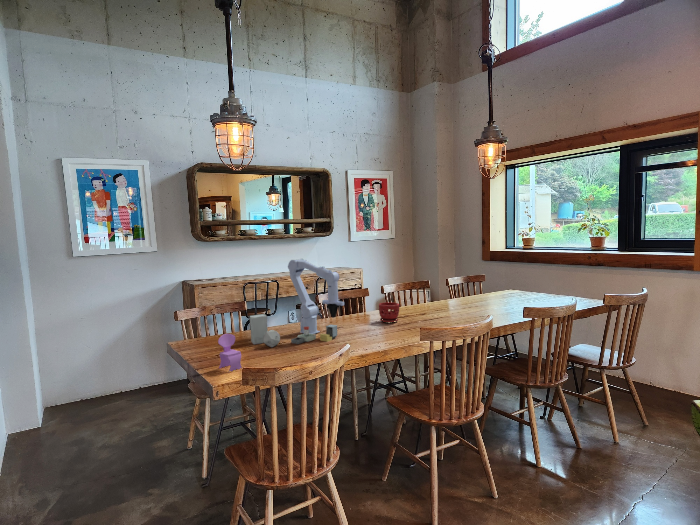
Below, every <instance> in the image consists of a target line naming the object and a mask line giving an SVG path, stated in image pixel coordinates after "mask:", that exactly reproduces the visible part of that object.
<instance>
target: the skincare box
mask: <svg viewBox="0 0 700 525" xmlns="http://www.w3.org/2000/svg"><path fill="white" fill-rule="evenodd" d="M249 325H250V326H249V327H250V328H249V329H250V341H251V343H252V344H253V345H259V344H265V343H264V342H263V336H264V335H265V333H266V332H267V331H269V330H268V316H267V315H266V314H265V313H261V314H255V315H254V314H253V315H249Z"/></svg>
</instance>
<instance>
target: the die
mask: <svg viewBox="0 0 700 525" xmlns="http://www.w3.org/2000/svg"><path fill="white" fill-rule="evenodd" d="M263 342H264V343H263V344H265V345H266V346H267V347H270V348H275V347H277V345H278V344H279V343H280V342H281V334H280V333H279V332H278V331H277V330H274V329H270V330H268V331H267V332H266V333H265V335H264V336H263Z"/></svg>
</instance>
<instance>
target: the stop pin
mask: <svg viewBox="0 0 700 525" xmlns="http://www.w3.org/2000/svg"><path fill="white" fill-rule="evenodd" d="M303 334H304V337H309V327H308V326H306V327H304V333H303Z"/></svg>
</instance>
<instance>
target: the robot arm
mask: <svg viewBox="0 0 700 525" xmlns="http://www.w3.org/2000/svg"><path fill="white" fill-rule="evenodd" d="M287 269H288V272H289V278H290V280H291V282H292V284H293V288H294V289H295V292H296V293H297V296H298V298H299V301H300V303H301V305H300V311H301V316H302V317H301V319H300V322H299V323H300V324H299V325H300V331H299V333H300V334H304V327H306V326H308V327H309V334H315V335H316V334H317V333H321V331H320V330H318V323H317V319H318V318H317V317H318V315H319V312H320V310H319V309H320V308H319V307H318V306H317V305H316V303H315V301H313V300H312V299H311V297H310V296H309V293H308V291H307V289H306V286H305V285H304V282H303V279H302V278H301V274H302V273H303V271H304V270H305V269H306V270H308V271H310V272H313V273H315V274H316V276H317V277H319V278H321V279H324V281H325V282H326V285H327V299H324V300H323V299H322V305H326V307H327V309H328V310H329V313H330V316H331V318H332V319H334V318H336V317H337V313H338V310H339V307H340V306H341V307H342V306H345V301H342V300H339V287H338V286H339V285H338V284H339V282H338V281H339V280H340V274H339V273H338V272H337V271H332V270H331V269H328V268H325V266H317V265H315V264H313V263H311V262H309V261H307V259H303V258H299V259H291V260H289V262H288V264H287Z"/></svg>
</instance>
